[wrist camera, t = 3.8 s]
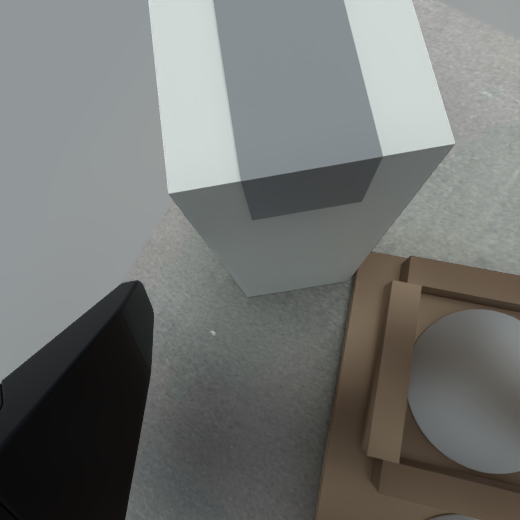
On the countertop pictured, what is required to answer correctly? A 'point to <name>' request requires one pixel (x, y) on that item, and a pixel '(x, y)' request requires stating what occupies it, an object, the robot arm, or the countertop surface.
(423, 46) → the tall white box
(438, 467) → the wooden holder board
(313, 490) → the countertop surface
